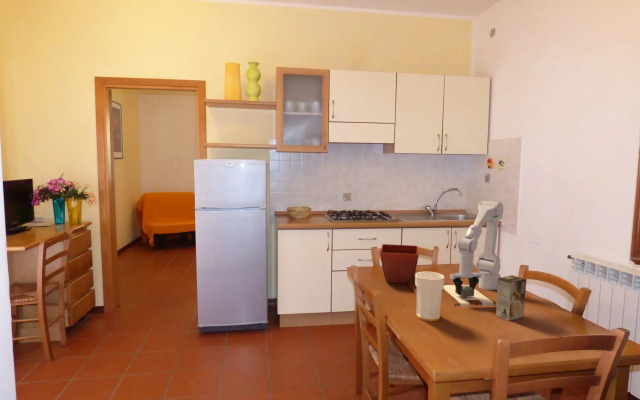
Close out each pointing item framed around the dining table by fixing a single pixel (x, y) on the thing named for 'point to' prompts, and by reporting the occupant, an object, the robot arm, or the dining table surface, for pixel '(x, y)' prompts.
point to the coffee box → (510, 297)
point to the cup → (429, 295)
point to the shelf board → (462, 300)
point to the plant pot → (399, 262)
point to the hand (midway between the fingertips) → (464, 293)
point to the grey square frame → (466, 292)
